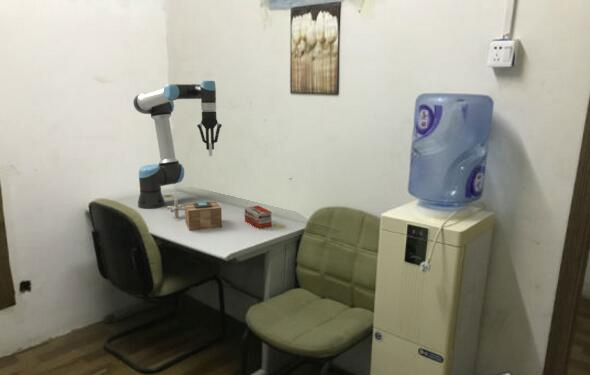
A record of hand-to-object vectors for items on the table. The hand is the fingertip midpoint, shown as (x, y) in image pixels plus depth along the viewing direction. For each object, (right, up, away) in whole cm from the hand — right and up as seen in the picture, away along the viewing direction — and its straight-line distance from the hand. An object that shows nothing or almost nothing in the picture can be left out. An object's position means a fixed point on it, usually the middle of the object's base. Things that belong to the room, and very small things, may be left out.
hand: (210, 155), depth 242 cm
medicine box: (+26, -36, -10) cm, 46 cm away
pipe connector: (-18, -33, +1) cm, 38 cm away
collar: (-1, -26, -14) cm, 30 cm away
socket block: (-1, -36, -12) cm, 38 cm away
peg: (-1, -33, -13) cm, 35 cm away
